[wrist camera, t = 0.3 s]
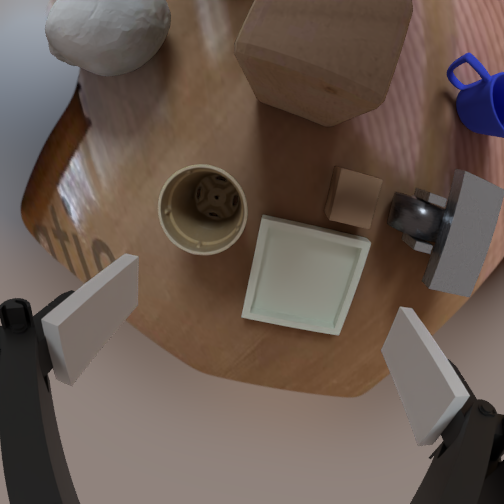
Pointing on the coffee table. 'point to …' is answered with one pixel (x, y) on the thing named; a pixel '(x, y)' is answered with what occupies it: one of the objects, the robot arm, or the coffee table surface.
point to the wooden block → (322, 54)
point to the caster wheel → (450, 229)
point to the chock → (352, 197)
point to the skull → (107, 33)
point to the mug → (480, 99)
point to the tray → (304, 275)
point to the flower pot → (202, 210)
